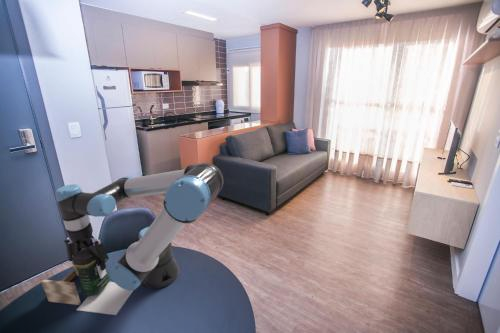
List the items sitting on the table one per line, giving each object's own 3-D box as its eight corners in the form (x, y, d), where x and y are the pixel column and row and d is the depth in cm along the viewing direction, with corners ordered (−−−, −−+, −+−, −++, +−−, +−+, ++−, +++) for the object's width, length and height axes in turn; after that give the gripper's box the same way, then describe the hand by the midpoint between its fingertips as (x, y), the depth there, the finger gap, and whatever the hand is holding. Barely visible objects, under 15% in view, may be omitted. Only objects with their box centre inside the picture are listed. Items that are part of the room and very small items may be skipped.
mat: (137, 284, 103) (137, 284, 103) (116, 315, 90) (115, 314, 90) (102, 281, 105) (102, 281, 105) (76, 310, 92) (76, 309, 92)
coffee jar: (97, 298, 95) (84, 258, 89) (79, 296, 96) (65, 257, 90) (114, 279, 104) (103, 242, 98) (97, 277, 105) (86, 240, 99)
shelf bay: (104, 276, 108) (99, 257, 104) (78, 304, 94) (72, 284, 91) (75, 273, 110) (69, 255, 106) (46, 301, 96) (38, 281, 93)
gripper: (111, 221, 92) (123, 270, 100) (62, 219, 95) (77, 266, 103) (97, 233, 85) (111, 284, 93) (44, 230, 88) (62, 280, 96)
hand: (93, 275), depth 98 cm, fingers closed on coffee jar, 8 cm apart
